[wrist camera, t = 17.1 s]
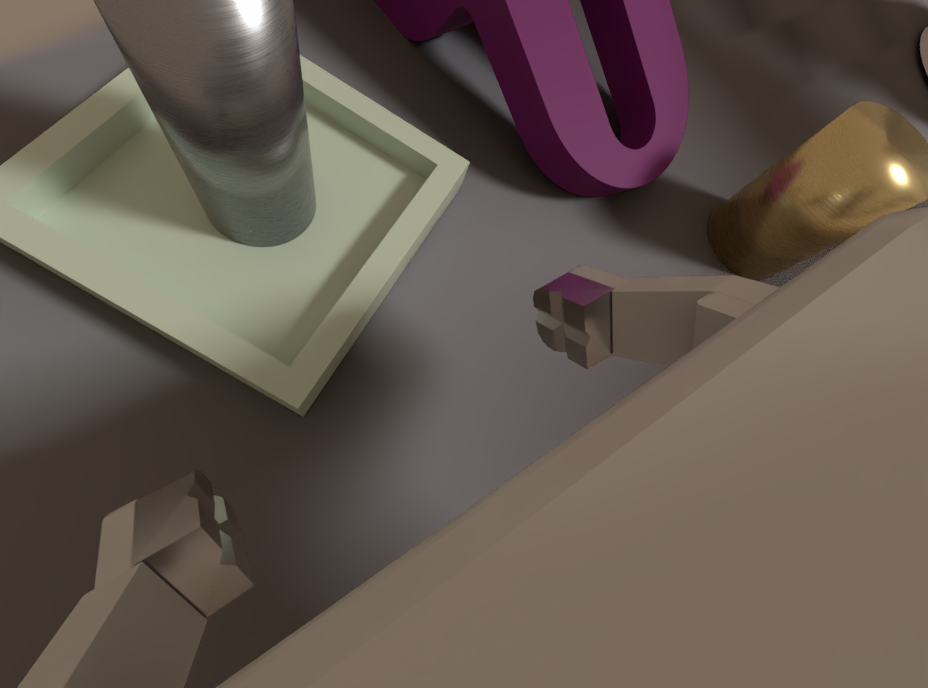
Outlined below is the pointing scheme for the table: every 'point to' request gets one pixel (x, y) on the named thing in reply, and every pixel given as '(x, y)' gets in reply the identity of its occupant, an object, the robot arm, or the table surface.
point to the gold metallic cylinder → (822, 192)
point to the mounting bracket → (576, 81)
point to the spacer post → (227, 106)
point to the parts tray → (215, 256)
